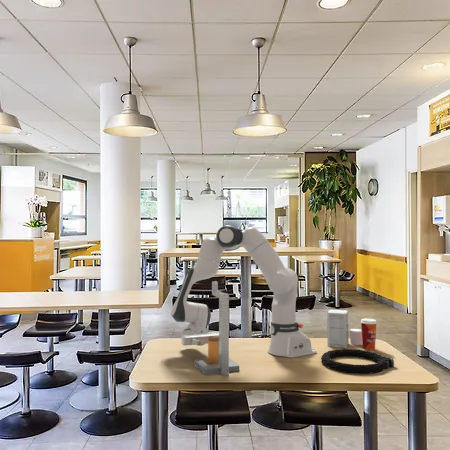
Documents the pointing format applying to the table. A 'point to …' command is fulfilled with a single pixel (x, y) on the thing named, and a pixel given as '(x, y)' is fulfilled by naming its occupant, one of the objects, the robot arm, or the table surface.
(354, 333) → the white short cylinder
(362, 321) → the paper cup
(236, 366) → the grey u-shaped bracket
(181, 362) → the table surface
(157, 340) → the table surface
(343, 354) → the cable lock
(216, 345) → the orange brown canister
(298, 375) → the table surface
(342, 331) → the supplement box
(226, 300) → the hook stand
